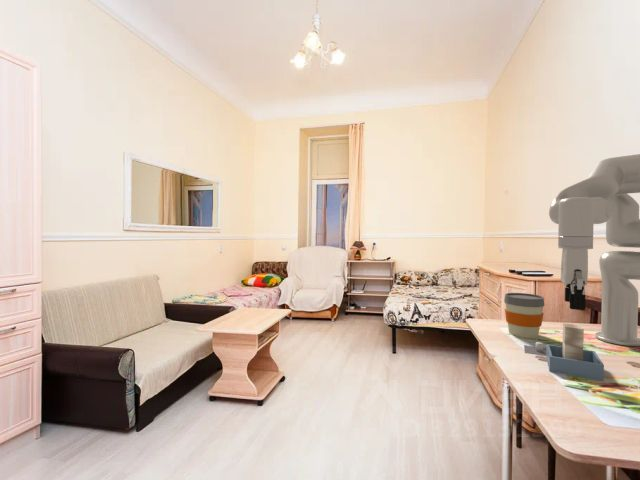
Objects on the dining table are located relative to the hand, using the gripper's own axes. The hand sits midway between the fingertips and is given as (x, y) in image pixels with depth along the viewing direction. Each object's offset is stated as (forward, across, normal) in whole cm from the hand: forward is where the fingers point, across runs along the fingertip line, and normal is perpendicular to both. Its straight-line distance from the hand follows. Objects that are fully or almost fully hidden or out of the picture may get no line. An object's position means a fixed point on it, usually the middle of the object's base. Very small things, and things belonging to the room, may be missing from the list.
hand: (574, 305), depth 91 cm
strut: (+18, +1, 0) cm, 18 cm away
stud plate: (+18, -10, -7) cm, 22 cm away
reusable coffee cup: (+19, -28, -11) cm, 36 cm away
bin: (+18, +1, 0) cm, 18 cm away
